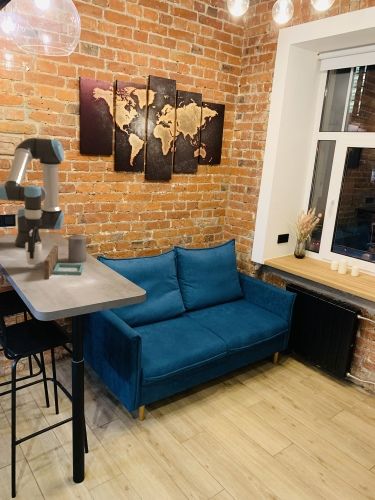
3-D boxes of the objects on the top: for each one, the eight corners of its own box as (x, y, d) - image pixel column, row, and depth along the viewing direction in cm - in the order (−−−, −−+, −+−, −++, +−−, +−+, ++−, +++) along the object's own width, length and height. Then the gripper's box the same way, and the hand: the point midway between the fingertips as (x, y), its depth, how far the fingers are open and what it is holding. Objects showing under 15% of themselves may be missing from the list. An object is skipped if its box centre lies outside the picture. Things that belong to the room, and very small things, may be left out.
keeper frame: (81, 274, 186) (81, 272, 186) (53, 274, 184) (53, 271, 183) (83, 266, 199) (83, 264, 199) (57, 265, 196) (57, 263, 196)
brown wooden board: (48, 279, 177) (48, 261, 174) (44, 278, 176) (44, 260, 174) (57, 261, 203) (57, 246, 201) (54, 261, 203) (54, 245, 200)
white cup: (45, 261, 190) (45, 243, 187) (34, 265, 183) (34, 246, 180) (33, 259, 192) (32, 240, 190) (22, 262, 185) (21, 243, 182)
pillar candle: (73, 256, 215) (73, 231, 211) (89, 259, 213) (89, 233, 209) (65, 261, 205) (64, 235, 201) (81, 263, 204) (81, 237, 200)
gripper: (37, 222, 172) (37, 268, 179) (45, 214, 192) (45, 256, 198) (19, 221, 171) (21, 268, 177) (29, 213, 190) (30, 255, 196)
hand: (34, 261), depth 187 cm, fingers closed on white cup, 7 cm apart
